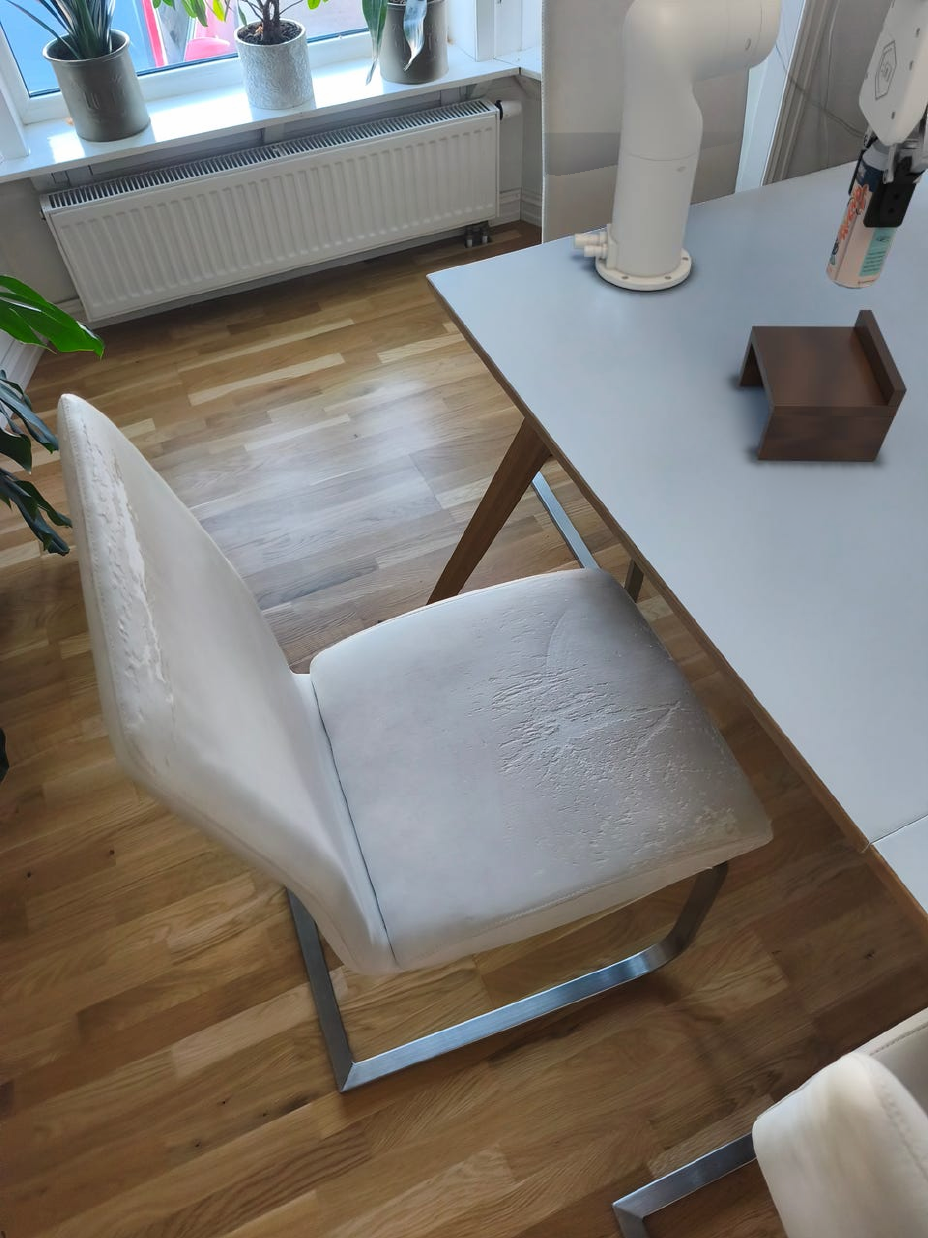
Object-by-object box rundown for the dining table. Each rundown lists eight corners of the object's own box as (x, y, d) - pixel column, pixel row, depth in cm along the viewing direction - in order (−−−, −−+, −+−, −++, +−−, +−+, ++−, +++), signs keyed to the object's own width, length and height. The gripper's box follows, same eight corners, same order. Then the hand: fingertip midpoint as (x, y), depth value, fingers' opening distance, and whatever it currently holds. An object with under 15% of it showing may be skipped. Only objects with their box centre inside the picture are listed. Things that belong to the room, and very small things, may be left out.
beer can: (837, 261, 84) (879, 130, 74) (884, 276, 82) (934, 143, 72) (816, 282, 81) (857, 149, 72) (864, 298, 79) (913, 164, 70)
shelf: (757, 460, 89) (780, 388, 82) (737, 379, 98) (756, 308, 91) (874, 461, 89) (907, 389, 82) (844, 380, 97) (871, 309, 90)
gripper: (876, -68, 68) (810, 169, 82) (941, 0, 57) (852, 259, 71) (973, -71, 67) (890, 168, 82) (1056, -2, 57) (944, 259, 71)
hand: (873, 208), depth 76 cm, fingers closed on beer can, 4 cm apart
